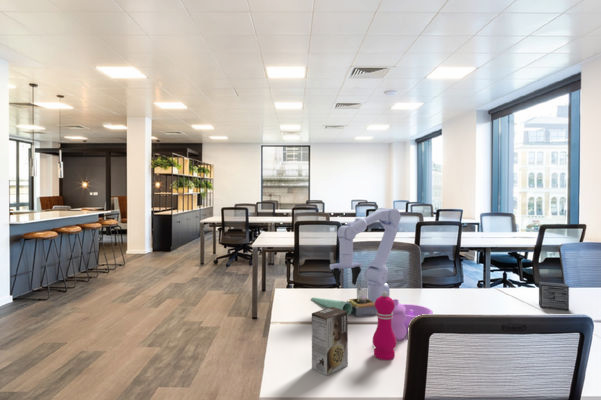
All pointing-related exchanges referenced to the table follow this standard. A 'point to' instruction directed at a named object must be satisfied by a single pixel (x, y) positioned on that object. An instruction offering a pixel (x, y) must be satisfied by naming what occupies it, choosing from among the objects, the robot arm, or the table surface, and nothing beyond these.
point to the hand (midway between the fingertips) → (346, 284)
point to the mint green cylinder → (334, 304)
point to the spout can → (361, 295)
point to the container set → (405, 317)
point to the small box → (554, 296)
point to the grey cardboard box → (329, 340)
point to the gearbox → (362, 308)
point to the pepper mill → (384, 328)
